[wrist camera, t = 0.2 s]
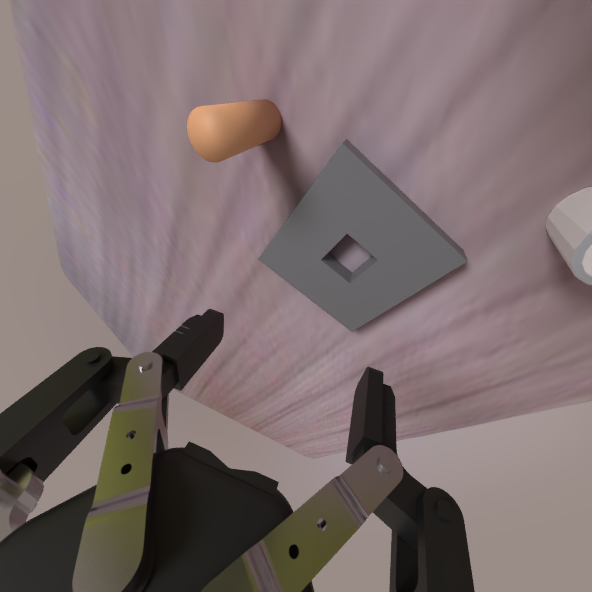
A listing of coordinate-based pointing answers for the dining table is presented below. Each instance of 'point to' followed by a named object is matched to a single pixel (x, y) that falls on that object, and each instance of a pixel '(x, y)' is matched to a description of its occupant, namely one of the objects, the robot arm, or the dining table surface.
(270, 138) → the peg
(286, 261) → the peg board
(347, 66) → the dining table surface
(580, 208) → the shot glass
